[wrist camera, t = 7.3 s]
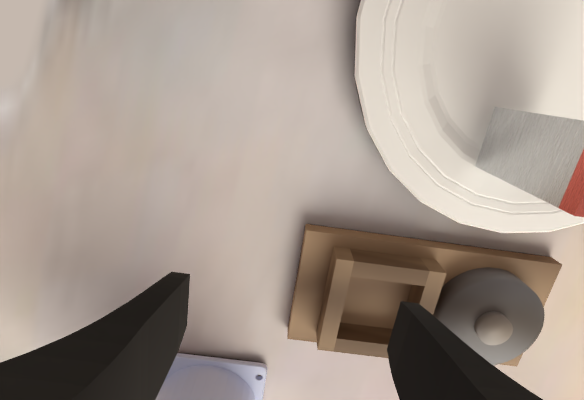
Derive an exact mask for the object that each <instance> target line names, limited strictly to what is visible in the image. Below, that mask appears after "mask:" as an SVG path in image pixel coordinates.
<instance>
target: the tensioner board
mask: <svg viewBox="0 0 584 400" xmlns="http://www.w3.org/2000/svg"><path fill="white" fill-rule="evenodd" d="M561 266H562V264H560V263H559V262H557V261H556V260H554V259H553V258H552V257H547V256H539V255H532V254H524V253H517V252H510V251H502V250H495V249H488V248H480V247H473V246H466V245H458V244H451V243H443V242H436V241H429V240H421V239H414V238H407V237H399V236H392V235H385V234H377V233H370V232H362V231H355V230H348V229H340V228H333V227H326V226H318V225H311V224H306V226H305V232H304V238H303V243H302V249H301V255H300V261H299V267H298V272H297V278H296V284H295V290H294V296H293V301H292V307H291V313H290V319H289V325H288V339H294V340H303V341H311V342H317V347H318V350H325V351H334V352H342V353H350V354H359V355H367V356H375V357H384V358H388V352H387V347H388V344H389V340H390V337H391V333H392V330H393V326H394V323H395V319H396V316H397V312H398V309H399V306H400V302H401V301H404V302H412V303H418V304H420V305H421V306H422V307H424V308H425V309H426V310H427V311H429V312H430V313H431V314H432V315H433V316H435V317H436V318H437V319H438V320H439V321H440V322H441V323H443V324H444V325H445V326H446V327H447V328H448V329H449V330H451V331H452V332H453V333H454V334H455V335H456V336H458V337H459V338H460V339H461V340H462V341H463V342H465V343H466V344H467V345H468V346H469V347H471V348H472V349H473V350H474V351H475V352H477V353H478V354H479V355H480V356H482V357H483V358H484V359H486V360H487V361H488V362H489V363H491V364H492V365H498V364H502V365H510V366H517V365H518V363H519V361H520V359H521V356H522V354H523V352H525V351H526V350H527V349H528V348H529V347H530V346H531V345H532V344H533V343H534V341H535V340H536V339H537V337H538V336H539V334H540V332H541V329H542V327H543V323H544V308H543V307H544V305H545V302H546V300H547V298H548V296H549V293H550V291H551V289H552V287H553V284H554V282H555V280H556V278H557V275H558V273H559V271H560V269H561Z"/></svg>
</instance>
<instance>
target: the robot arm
mask: <svg viewBox="0 0 584 400" xmlns="http://www.w3.org/2000/svg"><path fill="white" fill-rule="evenodd" d="M189 281H190V274H184V273H176V272H171V273H169V274H168V275H166V276H165V277H163V278H162V279H161V280H159V281H158V282H156V283H155V284H154V285H152V286H151V287H149V288H148V289H147V290H145V291H144V292H142V293H141V294H139V295H138V296H136V297H135V298H133V299H132V300H130V301H129V302H128V303H126V304H124V305H123V306H121V307H119V308H118V309H116V310H114V311H113V312H111V313H110V314H108V315H106V316H105V317H103V318H101V319H99V320H98V321H96V322H94V323H92V324H90V325H88V326H86V327H84V328H82V329H80V330H78V331H76V332H74V333H72V334H70V335H68V336H66V337H64V338H62V339H59V340H57V341H55V342H52V343H50V344H47V345H45V346H43V347H40V348H38V349H36V350H33V351H31V352H28V353H26V354H23V355H20V356H18V357H15V358H12V359H10V360H7V361H4V362H1V363H0V400H263V394H264V388H265V381H266V375H267V366H266V365H265V364H263V363H258V362H250V361H241V360H232V359H224V358H215V357H207V356H198V355H190V354H181V353H178V350H179V347H180V344H181V341H182V338H183V335H184V332H185V329H186V326H187V314H188V298H189ZM387 352H388V358H389V363H390V368H391V373H392V377H393V381H394V384H395V387H396V390H397V393H398V396H399V399H400V400H543V399H541V398H539V397H538V396H536V395H535V394H533V393H532V392H530V391H529V390H527V389H526V388H524V387H523V386H521V385H520V384H518V383H517V382H515V381H514V380H512V379H511V378H510V377H508V376H507V375H505V374H504V373H503V372H501V371H500V370H498V369H497V368H496V367H495V366H493V365H492V364H491V363H489V362H488V361H487V360H486V359H484V358H483V357H482V356H480V355H479V354H478V353H477V352H475V351H474V350H473V349H472V348H471V347H469V346H468V345H467V344H466V343H465V342H463V341H462V340H461V339H460V338H459V337H458V336H456V335H455V334H454V333H453V332H452V331H451V330H449V329H448V328H447V327H446V326H445V325H444V324H443V323H441V322H440V321H439V320H438V319H437V318H436V317H435V316H433V315H432V314H431V313H430V312H429V311H427V310H426V309H425V308H424V307H422V306H421V305H420V304H418V303H412V302H404V301H401V302H400V306H399V309H398V312H397V316H396V319H395V323H394V326H393V330H392V333H391V337H390V340H389V344H388V347H387ZM257 375H262V376H257Z"/></svg>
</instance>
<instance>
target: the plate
mask: <svg viewBox="0 0 584 400" xmlns="http://www.w3.org/2000/svg"><path fill="white" fill-rule="evenodd" d="M354 77H355V82H356V86H357V90H358V95H359V99H360V104H361V108H362V113H363V117H364V122H365V126H366V129H367V131H368V132H369V134H370V136H371V138H372V140H373V142H374V144H375V145H376V147H377V149H378V151H379V153H380V155H381V157H382V158H383V160H384V162H385V164H386V166H387V168H388V169H389V171H390V172H391V173H392V174H393V175H394V176H395V177H396V178H397V179H398V180H399V181H400V182H401V183H402V184H403V185H404V186H405V187H406V188H407V189H408V190H409V191H410V192H411V193H412V194H413V195H414V196H415V197H416V198H417V199H418V200H419V201H420V202H421V203H423V204H425V205H427V206H429V207H430V208H432V209H434V210H436V211H438V212H439V213H441V214H443V215H445V216H447V217H449V218H450V219H452V220H454V221H456V222H458V223H461V224H465V225H469V226H473V227H478V228H482V229H486V230H491V231H495V232H499V233H531V232H551V231H555V230H559V229H563V228H567V227H571V226H575V225H579V224H583V223H584V217H578V216H573V215H571V214H569V213H567V212H565V211H563V210H561V209H559V208H557V207H555V206H553V205H551V204H549V203H547V202H545V201H543V200H541V199H539V198H537V197H535V196H533V195H531V194H529V193H527V192H525V191H523V190H521V189H519V188H517V187H515V186H513V185H511V184H509V183H507V182H505V181H503V180H501V179H499V178H497V177H495V176H493V175H491V174H489V173H487V172H485V171H483V170H481V169H479V168H477V167H475V165H476V162H477V159H478V156H479V153H480V150H481V147H482V144H483V141H484V138H485V135H486V132H487V129H488V126H489V123H490V120H491V117H492V114H493V111H494V108H495V107H499V108H506V109H512V110H519V111H525V112H532V113H538V114H545V115H551V116H558V117H564V118H570V119H577V120H583V121H584V0H361V1H360V5H359V8H358V12H357V16H356V36H355V69H354Z"/></svg>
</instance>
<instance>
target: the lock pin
mask: <svg viewBox="0 0 584 400" xmlns="http://www.w3.org/2000/svg"><path fill="white" fill-rule="evenodd" d="M475 167H477V168H479V169H481V170H483V171H485V172H487V173H489V174H491V175H493V176H495V177H497V178H499V179H501V180H503V181H505V182H507V183H509V184H511V185H513V186H515V187H517V188H519V189H521V190H523V191H525V192H527V193H529V194H531V195H533V196H535V197H537V198H539V199H541V200H543V201H545V202H547V203H549V204H551V205H553V206H555V207H557V208H559V209H561V210H563V211H565V212H567V213H569V214H571V215H573V216H578V217H584V121H583V120H577V119H570V118H564V117H558V116H551V115H545V114H538V113H532V112H525V111H519V110H512V109H506V108H499V107H495V108H494V111H493V114H492V117H491V120H490V123H489V126H488V129H487V132H486V135H485V138H484V141H483V144H482V147H481V150H480V153H479V156H478V159H477V162H476V165H475Z"/></svg>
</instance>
